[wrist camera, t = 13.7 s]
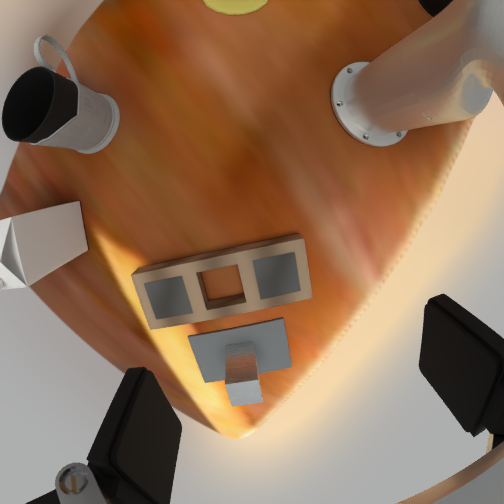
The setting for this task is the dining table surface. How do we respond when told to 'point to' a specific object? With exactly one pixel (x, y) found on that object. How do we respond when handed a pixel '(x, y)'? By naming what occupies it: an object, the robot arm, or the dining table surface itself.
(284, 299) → the rail
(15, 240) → the milk carton
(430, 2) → the aerosol can
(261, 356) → the mat
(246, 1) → the candle
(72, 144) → the glass holder
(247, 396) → the grey rectangular block
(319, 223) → the dining table surface
